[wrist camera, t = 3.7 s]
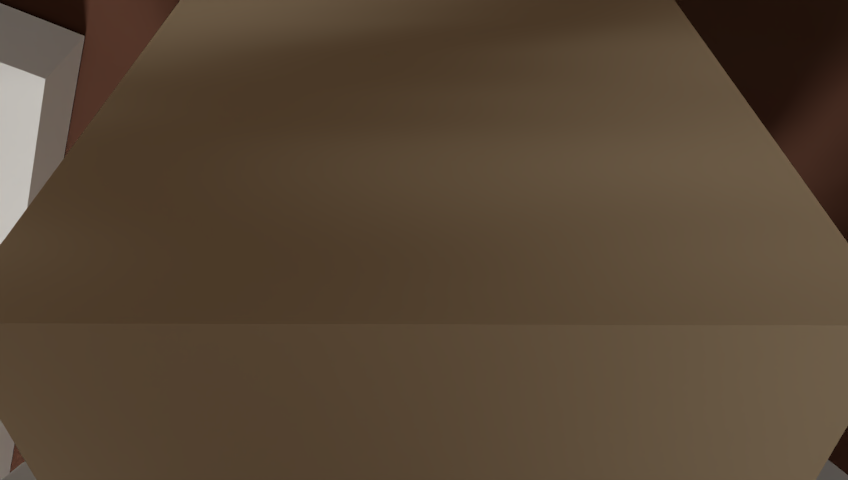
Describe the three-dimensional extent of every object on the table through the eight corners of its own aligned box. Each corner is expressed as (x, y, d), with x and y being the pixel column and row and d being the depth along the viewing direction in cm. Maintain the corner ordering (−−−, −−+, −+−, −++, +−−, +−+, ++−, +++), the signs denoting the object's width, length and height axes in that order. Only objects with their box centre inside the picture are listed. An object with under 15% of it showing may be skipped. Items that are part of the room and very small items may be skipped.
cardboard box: (597, -126, 8) (947, 325, 3) (519, 456, 15) (571, 913, 10) (271, -125, 8) (-59, 322, 3) (344, 455, 15) (294, 910, 10)
